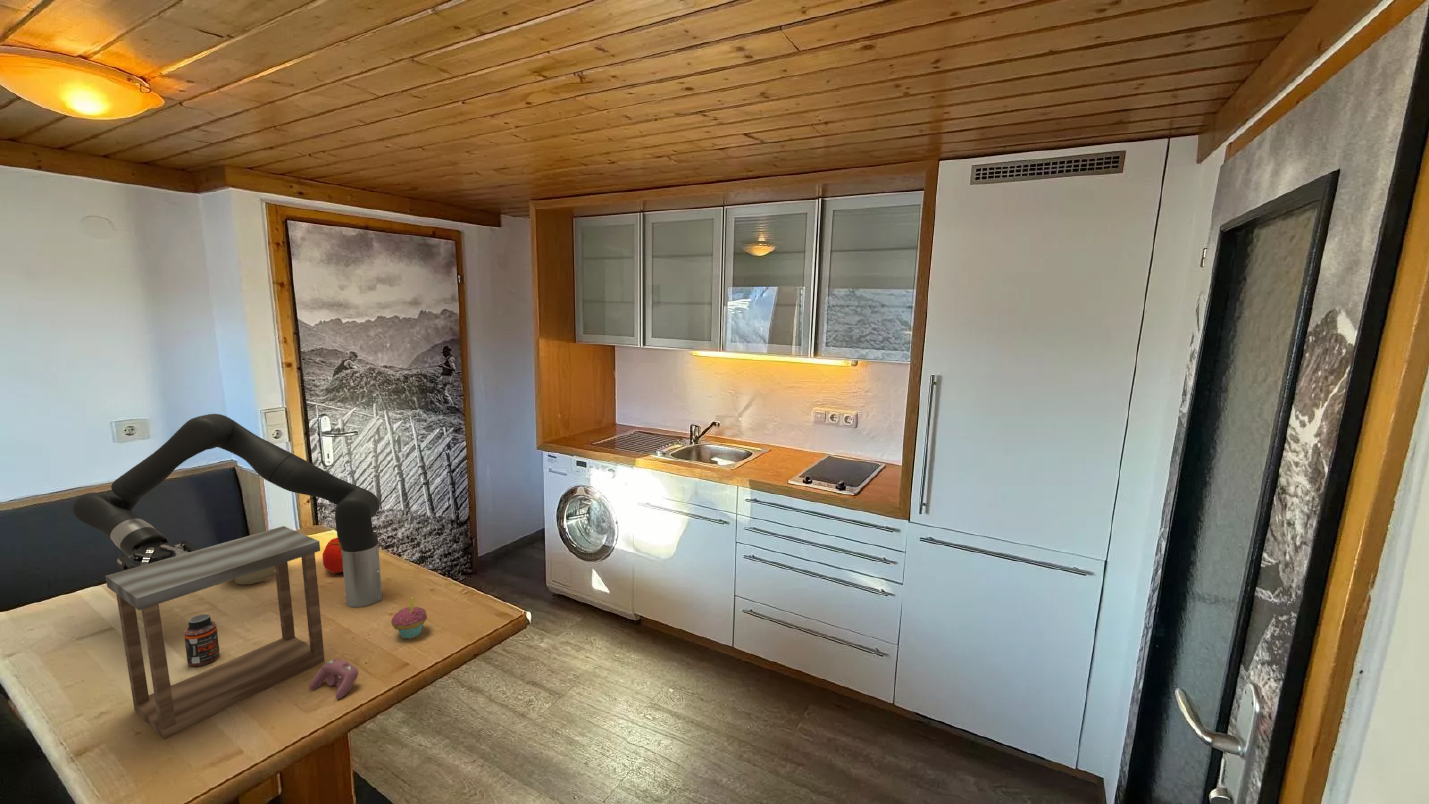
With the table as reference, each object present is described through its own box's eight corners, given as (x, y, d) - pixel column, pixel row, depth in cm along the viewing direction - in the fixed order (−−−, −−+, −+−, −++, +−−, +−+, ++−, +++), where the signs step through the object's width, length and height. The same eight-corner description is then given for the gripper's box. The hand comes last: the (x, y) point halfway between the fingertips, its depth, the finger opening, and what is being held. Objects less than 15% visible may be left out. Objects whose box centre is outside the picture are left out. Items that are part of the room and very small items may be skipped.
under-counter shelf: (127, 712, 121) (105, 575, 116) (295, 638, 149) (283, 526, 144) (158, 743, 113) (136, 598, 108) (330, 659, 141) (319, 541, 135)
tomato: (319, 568, 188) (317, 538, 186) (365, 556, 197) (363, 528, 195) (328, 583, 178) (325, 552, 176) (375, 570, 187) (373, 540, 186)
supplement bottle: (200, 669, 136) (195, 626, 134) (181, 665, 137) (175, 623, 135) (226, 655, 141) (221, 613, 139) (207, 651, 142) (202, 610, 141)
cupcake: (435, 630, 155) (432, 589, 153) (406, 646, 147) (404, 604, 145) (413, 622, 158) (411, 582, 156) (385, 637, 151) (382, 596, 149)
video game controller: (354, 697, 130) (364, 664, 132) (337, 700, 126) (348, 667, 128) (323, 686, 133) (334, 655, 135) (305, 689, 129) (316, 657, 131)
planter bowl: (260, 591, 172) (256, 558, 170) (208, 589, 172) (203, 556, 170) (299, 567, 188) (296, 536, 186) (251, 565, 188) (248, 535, 186)
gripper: (105, 533, 137) (144, 568, 132) (176, 520, 150) (214, 551, 146) (97, 560, 138) (136, 595, 134) (169, 544, 151) (206, 576, 147)
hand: (176, 572), depth 140 cm, fingers open, 8 cm apart
